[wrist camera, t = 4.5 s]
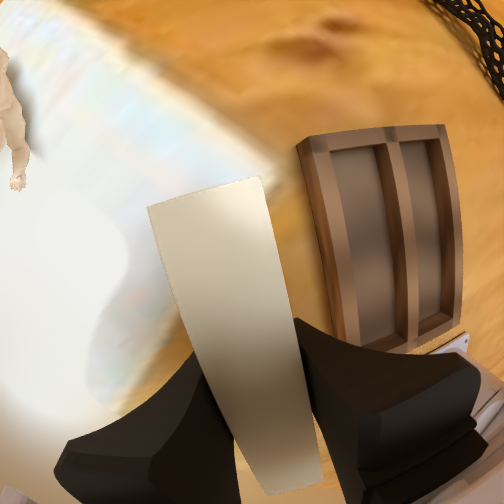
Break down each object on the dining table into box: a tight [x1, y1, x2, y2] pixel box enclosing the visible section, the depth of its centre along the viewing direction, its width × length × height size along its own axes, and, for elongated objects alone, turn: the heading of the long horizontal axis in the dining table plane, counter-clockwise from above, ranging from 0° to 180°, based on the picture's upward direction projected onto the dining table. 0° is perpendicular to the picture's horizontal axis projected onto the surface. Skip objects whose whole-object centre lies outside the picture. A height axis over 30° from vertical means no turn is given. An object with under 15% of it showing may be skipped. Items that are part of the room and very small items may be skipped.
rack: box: [296, 124, 463, 354], centre depth 17 cm, size 16×11×3 cm
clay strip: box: [147, 176, 324, 496], centre depth 9 cm, size 12×2×5 cm, turn 15°
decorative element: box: [434, 0, 504, 100], centre depth 12 cm, size 22×5×6 cm, turn 47°
